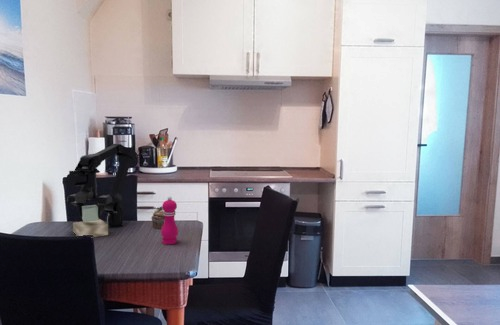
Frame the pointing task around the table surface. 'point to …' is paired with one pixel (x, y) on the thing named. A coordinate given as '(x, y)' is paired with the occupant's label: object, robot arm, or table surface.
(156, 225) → the cupcake
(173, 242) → the pepper mill
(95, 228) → the birch box
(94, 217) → the cube
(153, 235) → the table surface
